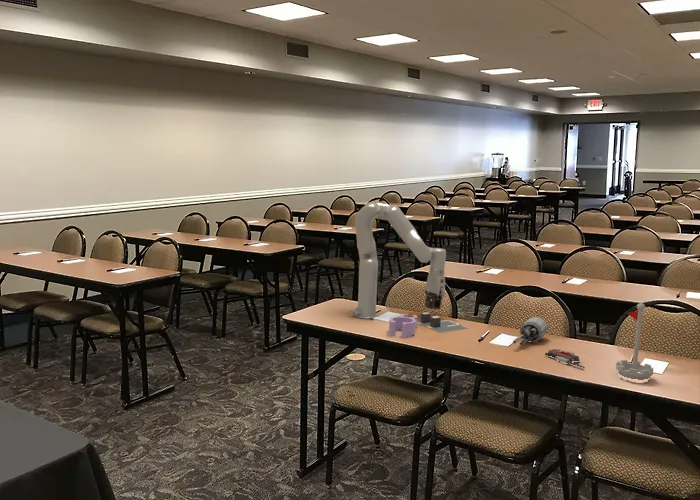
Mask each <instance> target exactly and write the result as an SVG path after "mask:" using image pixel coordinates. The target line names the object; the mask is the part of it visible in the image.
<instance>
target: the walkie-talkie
mask: <svg viewBox="0 0 700 500" xmlns="http://www.w3.org/2000/svg"><path fill="white" fill-rule="evenodd" d="M544 355H546V356H547V355H548V356H552V357H554V358H556V359H558V360H559V361H562V362H565V363H570V364H573V365H577V366H580V367H579V368H581V367H583V368H582V369H585V368H586V367H585V366H583V365H581V364H578V363H572V361H579V362H580V357H579V356H578V355H576V354H575V353H574V351H570V350H567V349H565V350H562V349H561V348H558V349H557V348H554V349H548V351H547V352H545V354H544ZM548 356H547V357H548ZM573 365H572V366H573Z"/></svg>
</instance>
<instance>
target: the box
mask: <svg viewBox="0 0 700 500" xmlns="http://www.w3.org/2000/svg"><path fill="white" fill-rule="evenodd" d="M438 297H439V295H438ZM436 300H437V299H436V294H433V293H425V300H424V301H425V303H424V307H425V308H428V309H430V310H440V309H441V306H442V305H441V304H442V303H441V304H440V307H435V301H436Z"/></svg>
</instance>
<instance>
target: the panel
mask: <svg viewBox="0 0 700 500" xmlns="http://www.w3.org/2000/svg"><path fill="white" fill-rule="evenodd" d="M417 325H419V326H421V327H424V328H426V329H429V330H432V331H434V332H437V333H448V332H449V333H450V332H455V331H461V330H469V328H468V327H465V326H462V324H460V323H457V322H455V321H452V320H449V319H446V320H444V319H442V318H441V323H440V327H432V326H430V322H428V323H423V322H420V321H417Z"/></svg>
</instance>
